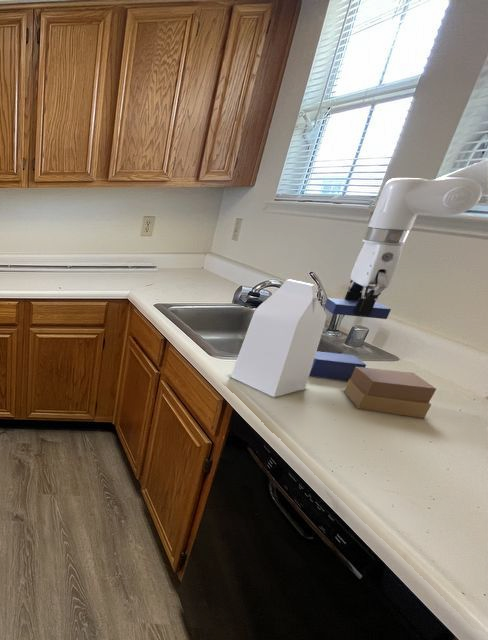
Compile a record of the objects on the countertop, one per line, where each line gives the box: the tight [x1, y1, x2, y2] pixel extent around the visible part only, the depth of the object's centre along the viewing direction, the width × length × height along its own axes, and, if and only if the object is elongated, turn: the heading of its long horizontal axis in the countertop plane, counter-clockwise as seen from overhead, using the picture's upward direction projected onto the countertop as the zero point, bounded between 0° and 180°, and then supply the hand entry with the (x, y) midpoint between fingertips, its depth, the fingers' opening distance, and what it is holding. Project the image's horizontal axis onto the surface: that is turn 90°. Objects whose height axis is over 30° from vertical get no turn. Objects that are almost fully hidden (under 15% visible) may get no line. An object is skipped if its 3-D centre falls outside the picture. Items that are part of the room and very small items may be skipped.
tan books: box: [343, 367, 437, 419], centre depth 96 cm, size 12×9×7 cm
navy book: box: [323, 297, 392, 320], centre depth 104 cm, size 11×6×2 cm, turn 69°
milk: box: [230, 279, 327, 398], centre depth 102 cm, size 12×12×26 cm
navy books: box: [309, 350, 367, 382], centre depth 111 cm, size 11×7×5 cm, turn 69°
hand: (355, 310), depth 104 cm, fingers closed on navy book, 6 cm apart
